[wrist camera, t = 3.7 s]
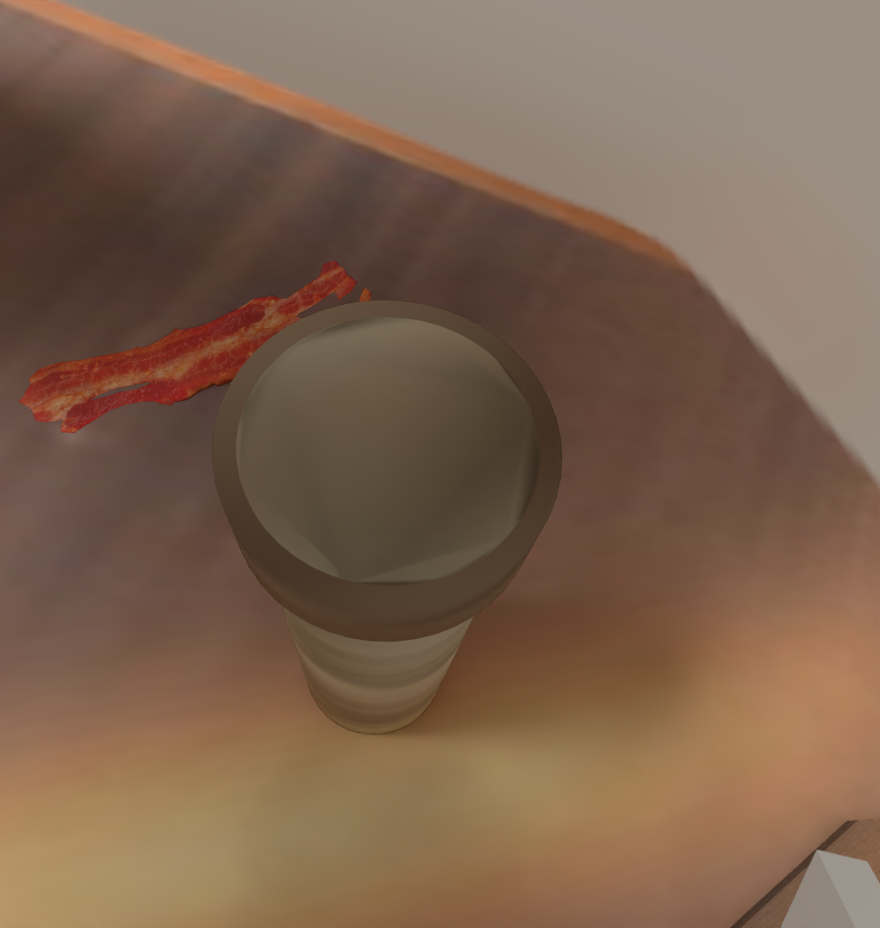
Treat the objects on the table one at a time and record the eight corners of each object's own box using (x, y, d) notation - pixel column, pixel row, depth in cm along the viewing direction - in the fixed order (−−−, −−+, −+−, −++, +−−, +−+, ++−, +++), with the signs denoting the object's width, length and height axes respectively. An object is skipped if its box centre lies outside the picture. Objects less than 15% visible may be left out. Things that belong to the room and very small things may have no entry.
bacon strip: (387, 319, 29) (388, 309, 28) (-26, 509, 24) (-35, 501, 23) (337, 249, 30) (337, 238, 29) (-66, 417, 25) (-76, 407, 25)
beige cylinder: (267, 638, 23) (151, 387, 10) (398, 560, 24) (439, 255, 12) (347, 779, 21) (326, 686, 9) (482, 687, 23) (631, 493, 10)
